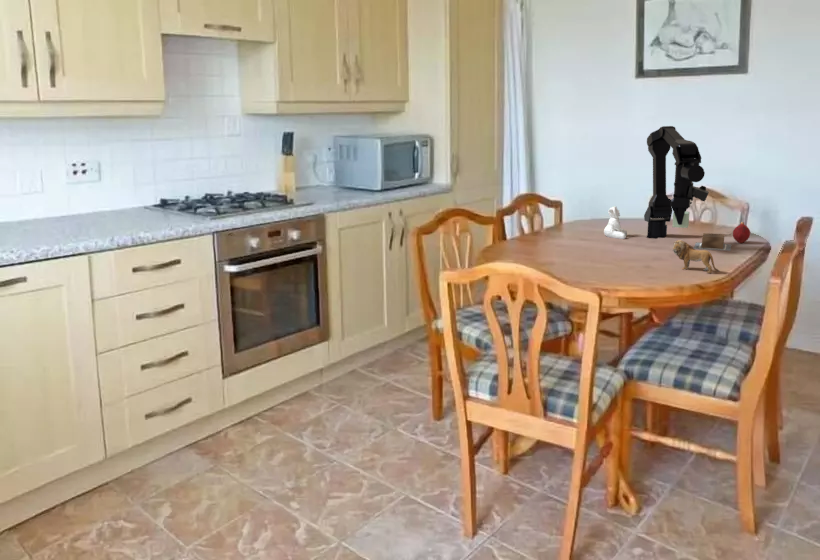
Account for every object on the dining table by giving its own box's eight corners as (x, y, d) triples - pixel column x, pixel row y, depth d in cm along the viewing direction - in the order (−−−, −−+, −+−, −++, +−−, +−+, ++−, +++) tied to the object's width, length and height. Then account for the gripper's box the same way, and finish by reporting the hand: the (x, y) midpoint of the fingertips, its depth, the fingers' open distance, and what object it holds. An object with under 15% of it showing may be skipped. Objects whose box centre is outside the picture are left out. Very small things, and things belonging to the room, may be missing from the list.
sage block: (672, 227, 255) (673, 213, 253) (673, 224, 259) (674, 211, 258) (687, 227, 253) (688, 213, 251) (688, 225, 257) (689, 211, 256)
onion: (751, 245, 259) (753, 223, 258) (734, 245, 261) (735, 223, 259) (747, 242, 265) (749, 220, 263) (730, 242, 266) (732, 220, 264)
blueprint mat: (693, 249, 255) (693, 248, 255) (695, 243, 266) (695, 242, 265) (730, 251, 250) (730, 250, 250) (731, 245, 261) (731, 244, 260)
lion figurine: (668, 268, 228) (670, 241, 226) (674, 265, 232) (676, 238, 230) (716, 275, 219) (719, 245, 217) (722, 271, 223) (724, 243, 221)
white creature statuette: (625, 239, 277) (626, 208, 274) (602, 238, 279) (603, 207, 277) (627, 235, 285) (628, 204, 282) (604, 234, 288) (605, 204, 285)
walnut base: (701, 247, 256) (702, 236, 255) (702, 244, 262) (703, 233, 261) (722, 248, 253) (723, 237, 252) (723, 245, 259) (724, 234, 258)
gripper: (706, 182, 240) (703, 228, 244) (709, 177, 257) (706, 220, 260) (671, 181, 245) (668, 227, 249) (676, 176, 261) (674, 219, 265)
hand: (680, 223), depth 256 cm, fingers closed on sage block, 5 cm apart
